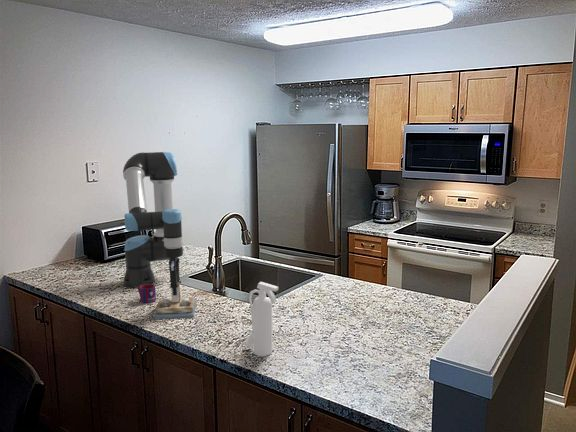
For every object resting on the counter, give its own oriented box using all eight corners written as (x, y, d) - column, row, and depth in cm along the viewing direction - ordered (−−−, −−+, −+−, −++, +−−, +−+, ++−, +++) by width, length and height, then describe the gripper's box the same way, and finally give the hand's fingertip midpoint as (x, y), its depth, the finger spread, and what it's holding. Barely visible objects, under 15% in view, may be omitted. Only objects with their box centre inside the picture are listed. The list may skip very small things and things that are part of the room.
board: (159, 304, 202) (159, 294, 201) (196, 302, 204) (196, 292, 203) (153, 319, 187) (152, 307, 186) (193, 317, 188) (193, 306, 188)
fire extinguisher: (251, 342, 165) (251, 276, 160) (280, 351, 160) (281, 283, 154) (240, 350, 160) (240, 282, 154) (270, 360, 154) (271, 289, 148)
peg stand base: (195, 302, 201) (194, 280, 199) (192, 311, 190) (191, 288, 188) (159, 303, 199) (158, 281, 197) (155, 313, 188) (154, 290, 186)
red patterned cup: (145, 304, 202) (144, 290, 201) (134, 299, 209) (133, 284, 208) (158, 300, 207) (158, 286, 206) (147, 295, 214) (146, 281, 212)
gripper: (166, 242, 199) (169, 294, 203) (161, 251, 183) (164, 307, 188) (184, 241, 200) (187, 293, 204) (180, 251, 184) (183, 306, 188)
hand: (176, 300), depth 196 cm, fingers closed on peg stand base, 3 cm apart
